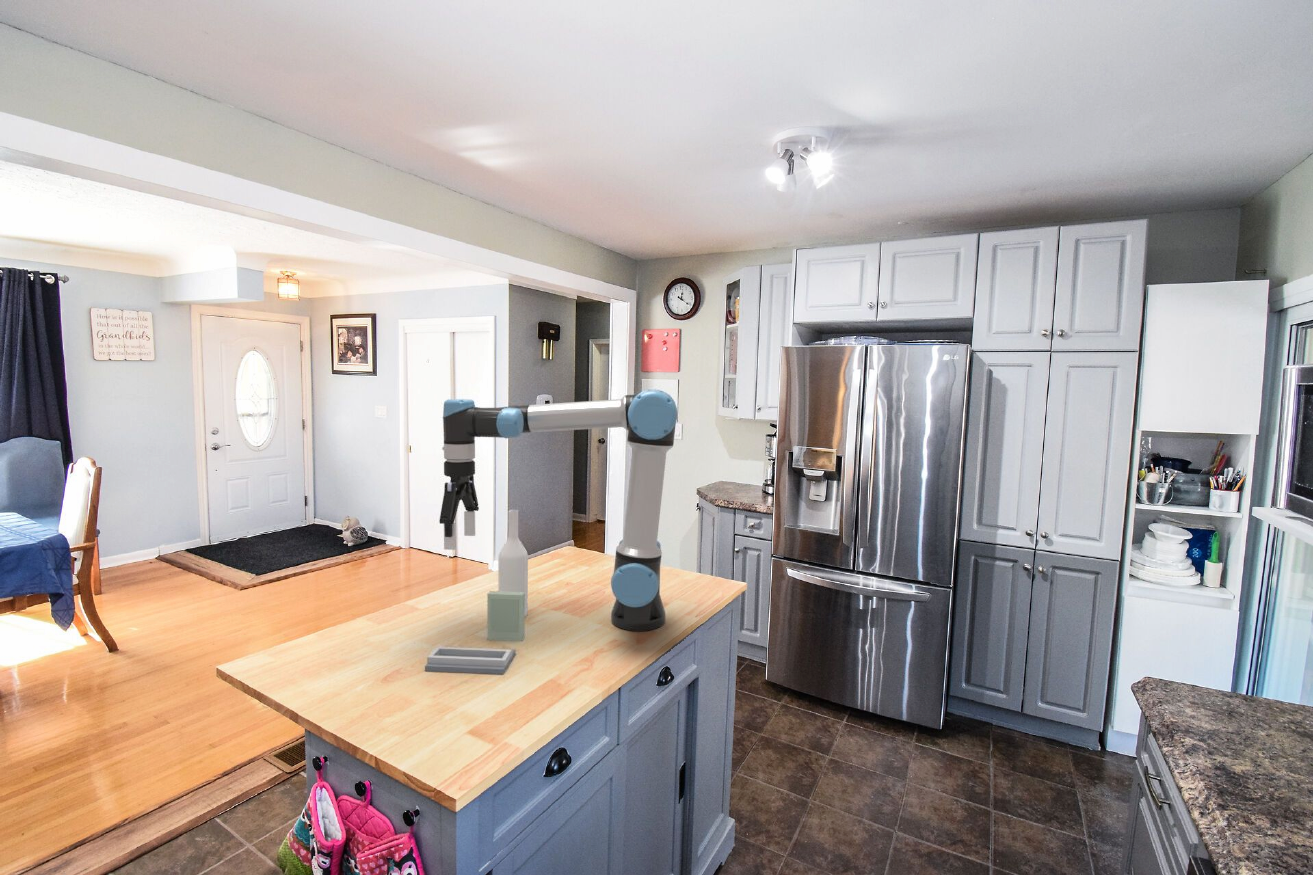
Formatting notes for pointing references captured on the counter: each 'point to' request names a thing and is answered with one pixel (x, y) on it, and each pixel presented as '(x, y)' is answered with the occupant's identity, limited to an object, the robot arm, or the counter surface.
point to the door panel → (505, 615)
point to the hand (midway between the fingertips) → (460, 542)
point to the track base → (469, 660)
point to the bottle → (513, 562)
